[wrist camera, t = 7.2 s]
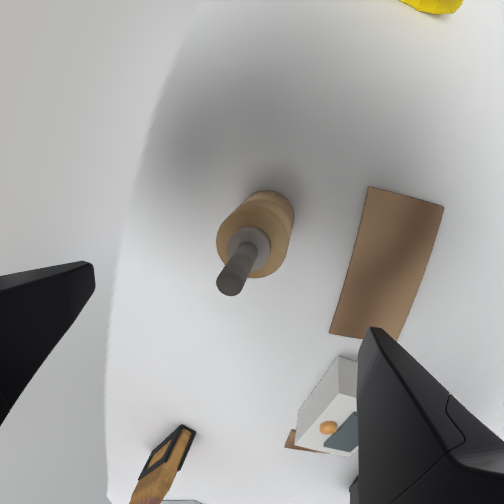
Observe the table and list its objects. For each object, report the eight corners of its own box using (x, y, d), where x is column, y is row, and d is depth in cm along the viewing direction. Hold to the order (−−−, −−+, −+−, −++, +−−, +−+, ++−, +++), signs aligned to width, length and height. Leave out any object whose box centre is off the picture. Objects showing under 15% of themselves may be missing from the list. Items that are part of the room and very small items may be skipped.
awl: (298, 195, 17) (285, 249, 9) (288, 247, 19) (268, 332, 11) (244, 186, 18) (187, 230, 10) (237, 237, 19) (183, 312, 11)
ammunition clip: (181, 423, 28) (138, 516, 17) (197, 432, 28) (157, 525, 17) (151, 451, 32) (115, 521, 21) (164, 458, 32) (130, 529, 21)
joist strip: (442, 206, 16) (444, 207, 16) (332, 451, 25) (332, 453, 25) (368, 186, 16) (369, 187, 16) (284, 445, 26) (284, 447, 26)
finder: (391, 371, 21) (400, 413, 17) (348, 422, 24) (348, 460, 20) (337, 354, 21) (339, 397, 17) (298, 408, 24) (293, 448, 20)
